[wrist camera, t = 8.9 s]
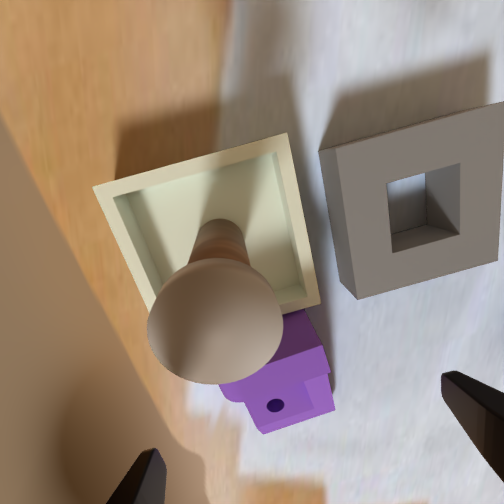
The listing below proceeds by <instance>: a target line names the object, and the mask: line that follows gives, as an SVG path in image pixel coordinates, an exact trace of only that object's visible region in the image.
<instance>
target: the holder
mask: <svg viewBox="0 0 504 504" xmlns="http://www.w3.org/2000/svg"><path fill="white" fill-rule="evenodd" d="M318 152H319V158H320V164H321V171H322V177H323V183H324V189H325V195H326V201H327V207H328V213H329V219H330V225H331V231H332V237H333V243H334V249H335V255H336V261H337V267H338V273H339V279H340V282H341V283H342V284H343V285H344V286H345V287H346V288H347V289H348V290H349V291H350V292H351V294H352V295H353V296H354V297H355V298H356V299H357V300H359V299H363V298H366V297H370V296H373V295H377V294H380V293H384V292H388V291H391V290H395V289H398V288H402V287H405V286H409V285H412V284H416V283H420V282H423V281H427V280H430V279H434V278H437V277H441V276H445V275H448V274H452V273H455V272H459V271H462V270H466V269H469V268H473V267H477V266H480V265H484V264H487V263H491V262H494V261H498V247H499V229H500V211H501V193H502V175H503V157H504V101H503V102H499V103H494V104H490V105H485V106H481V107H476V108H472V109H468V110H463V111H459V112H456V113H452V114H449V115H445V116H441V117H438V118H434V119H431V120H427V121H423V122H420V123H416V124H413V125H409V126H406V127H402V128H398V129H395V130H391V131H388V132H384V133H381V134H377V135H373V136H370V137H366V138H363V139H359V140H355V141H352V142H348V143H345V144H341V145H338V146H334V147H330V148H327V149H323V150H320V151H318ZM422 173H425V180H426V205H427V225H424V226H420V227H417V228H413V229H409V230H406V231H402V232H399V233H395V234H392V235H391V233H390V222H389V210H388V199H387V188H386V183H389V182H393V181H397V180H400V179H404V178H407V177H411V176H414V175H418V174H422Z"/></svg>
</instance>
